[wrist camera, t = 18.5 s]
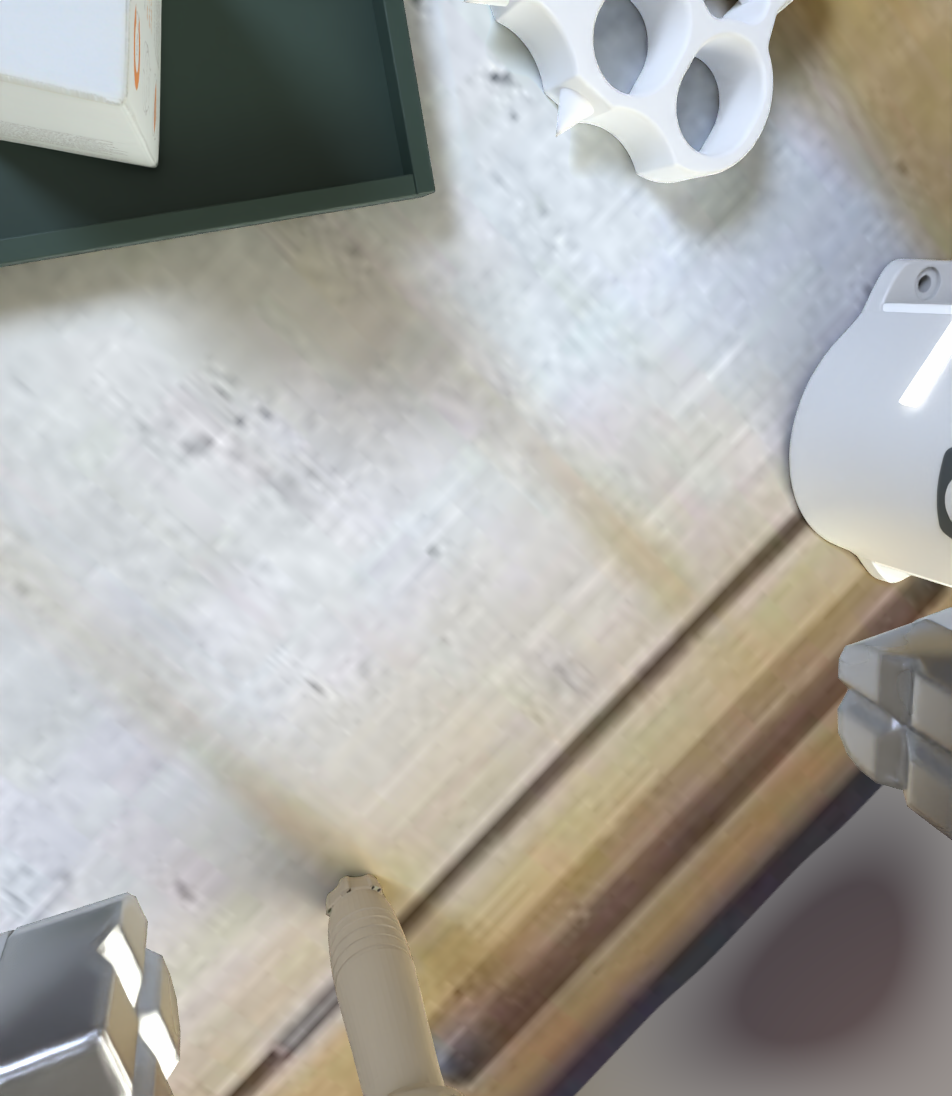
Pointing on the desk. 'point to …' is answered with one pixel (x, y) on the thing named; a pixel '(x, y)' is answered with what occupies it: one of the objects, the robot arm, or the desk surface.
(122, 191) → the tray
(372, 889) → the handle
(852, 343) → the robot arm
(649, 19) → the white brass knuckles
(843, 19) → the desk surface
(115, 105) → the small box
